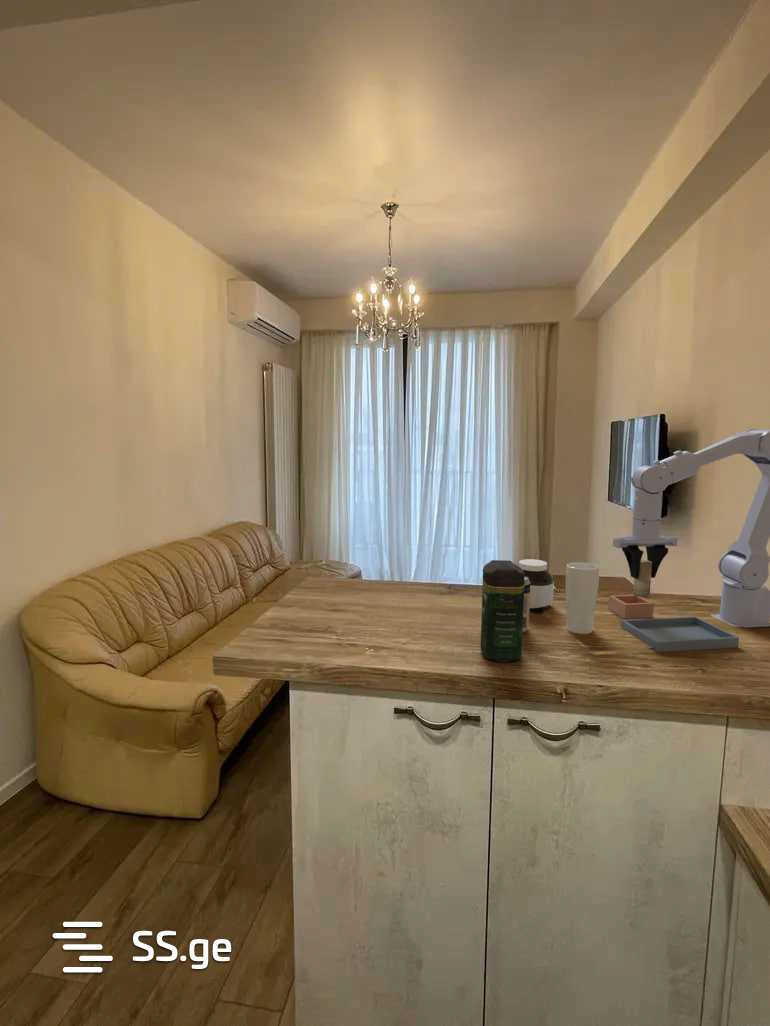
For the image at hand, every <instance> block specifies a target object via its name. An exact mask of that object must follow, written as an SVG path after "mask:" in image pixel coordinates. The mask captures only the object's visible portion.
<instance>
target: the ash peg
mask: <svg viewBox="0 0 770 1026" xmlns="http://www.w3.org/2000/svg"><path fill="white" fill-rule="evenodd" d="M651 572H652V562H651V561H648V560H647V559H641V562H640V571H639V578H638V579H635V578H633V593H632V595H634V596H637V597H642V598H650V596H651V584H652V582H651V581H652V578H651Z"/></svg>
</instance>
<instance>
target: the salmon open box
mask: <svg viewBox="0 0 770 1026" xmlns="http://www.w3.org/2000/svg"><path fill="white" fill-rule="evenodd" d="M654 604H655V603H654V602H652V601H650V600H648V599H646V598H645V597H637V596H634V595H633V594H619V595H618V594H616V595H614V594H612V595H608V607H607V610H608V611H610V612H611V613H613V614H615V615H616V616H619V617H620V618H621V619H622V620H631V619H651V618H653V617H654V606H655V605H654Z"/></svg>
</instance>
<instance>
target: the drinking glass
mask: <svg viewBox="0 0 770 1026" xmlns="http://www.w3.org/2000/svg"><path fill="white" fill-rule="evenodd" d="M565 571H566V572H565V598H566V600H565V603H566V605H565V606H566V630H568V631H569V632H571V633H573V634H579V635H589V634H591V633H592V632H593V629H594V627H593V626H594V619H595V618H594V617H595V611H596V605H597V599H598V598H597V597H598V591H599V583H600V566H599V565H597V564H595V563H591V562H582V561H574V562H569V563H567V564H566V569H565Z"/></svg>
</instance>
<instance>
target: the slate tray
mask: <svg viewBox="0 0 770 1026" xmlns="http://www.w3.org/2000/svg"><path fill="white" fill-rule="evenodd" d="M620 627H621V628H622V629H623V630H625V631H627V632H628V633H630V634H632V635H633V636H635V637H636V638H638V639H639V640H641V641H642V642H644V643H646V644H647V645H648V646H650V649H651V650H652V651H654V652H655V653H665V652H685V651H698V650H700V651H701V650H702V651H703V650H717V649H718V650H719V649H734V648H739V644H740V642H739V641H740V637H739V636H736V635H734V634H732V633H731V632H729V631H726V630H725V629H722V628H721V627H718V626H716V625H714V624H712V623H710V622H708V621H706V620H705V619H702V618H700V617H698V616H696V615H695V616H674V617H655V618H637V619H621V620H620Z"/></svg>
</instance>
